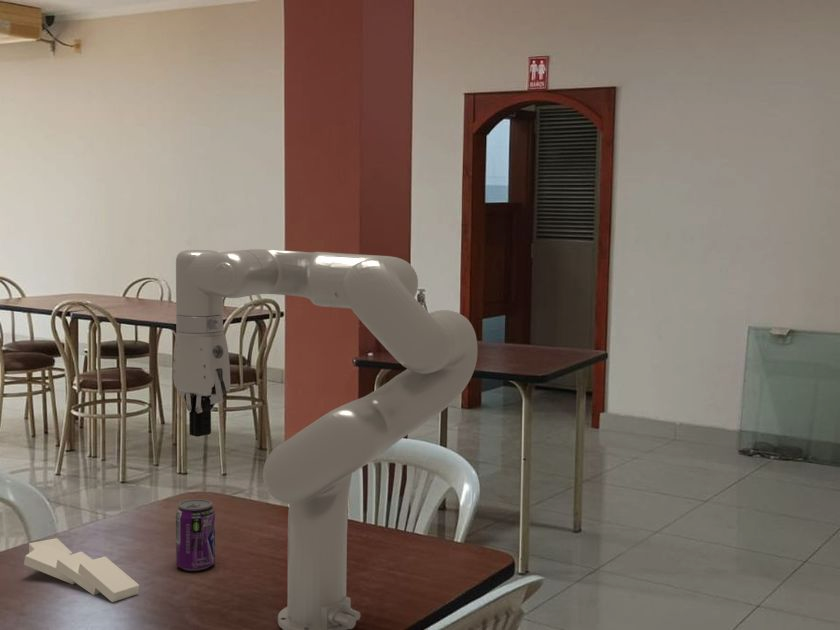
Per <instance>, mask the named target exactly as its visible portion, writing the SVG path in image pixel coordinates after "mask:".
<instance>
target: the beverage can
mask: <svg viewBox="0 0 840 630" xmlns="http://www.w3.org/2000/svg"><path fill="white" fill-rule="evenodd" d="M177 506H178V509H177V510H176V513H175V565H176V567H178V568H180V569H183V570H184V571H189V572H197V571H198V572H199V571H200V572H201V571H204V570H207V569H208V568H209V567H211V566H214V565H215V563H216V512H215V510H214V507H213V502H212V501H211V500H209V499H204V498H201V499H200V498H199V499H198V498H197V499H195V498H194V499H186V500H183V501H181V502H179V503H178V505H177Z"/></svg>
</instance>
